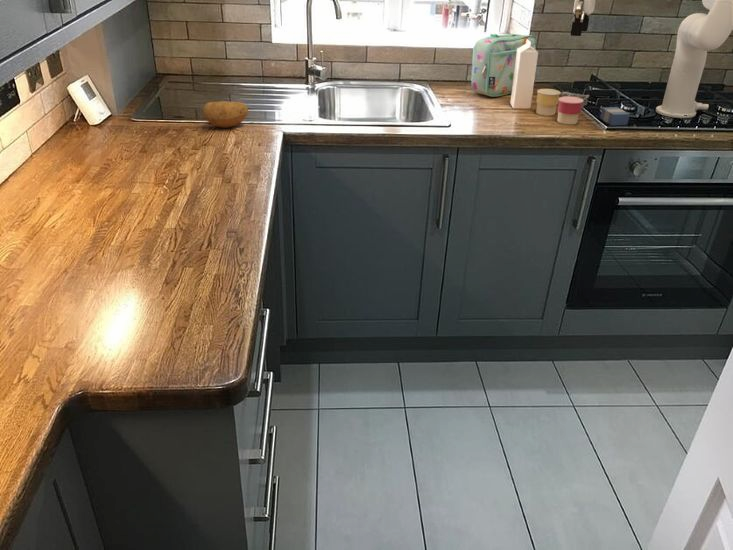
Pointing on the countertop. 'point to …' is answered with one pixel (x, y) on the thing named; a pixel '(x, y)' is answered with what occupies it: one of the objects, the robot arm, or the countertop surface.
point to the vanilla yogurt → (547, 101)
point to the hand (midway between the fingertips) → (578, 33)
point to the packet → (614, 116)
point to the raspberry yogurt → (569, 109)
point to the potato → (225, 113)
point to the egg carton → (575, 96)
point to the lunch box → (496, 63)
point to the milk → (524, 76)
